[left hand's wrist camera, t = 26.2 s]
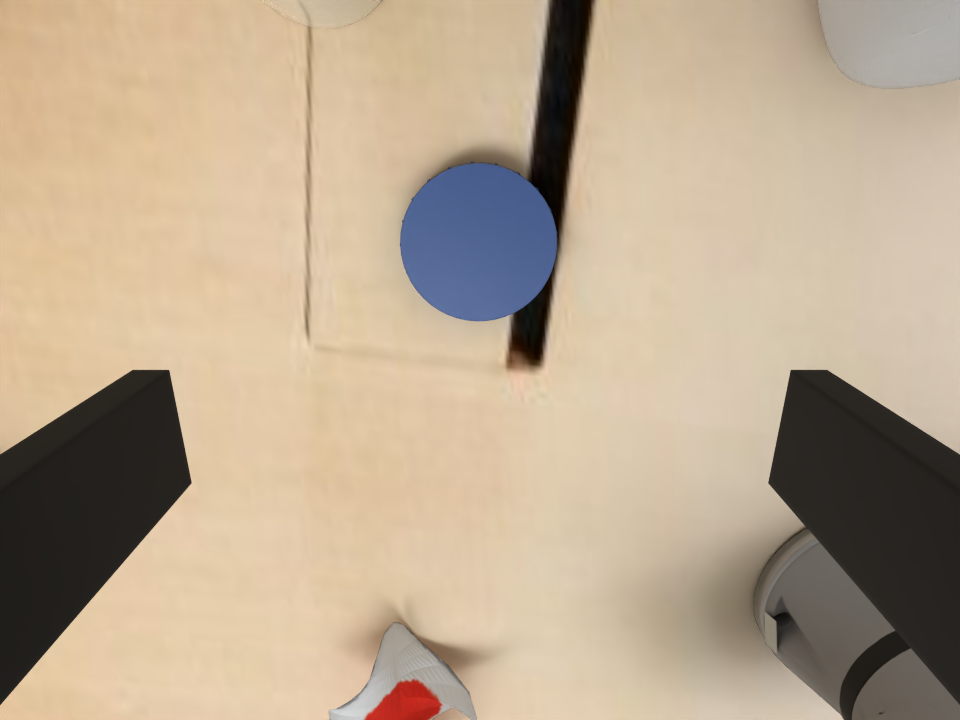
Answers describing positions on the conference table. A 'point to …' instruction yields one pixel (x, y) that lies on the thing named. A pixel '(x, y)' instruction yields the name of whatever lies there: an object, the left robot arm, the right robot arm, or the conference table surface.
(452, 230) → the lid
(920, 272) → the conference table surface
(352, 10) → the jar
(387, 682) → the fish
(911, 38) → the projector
